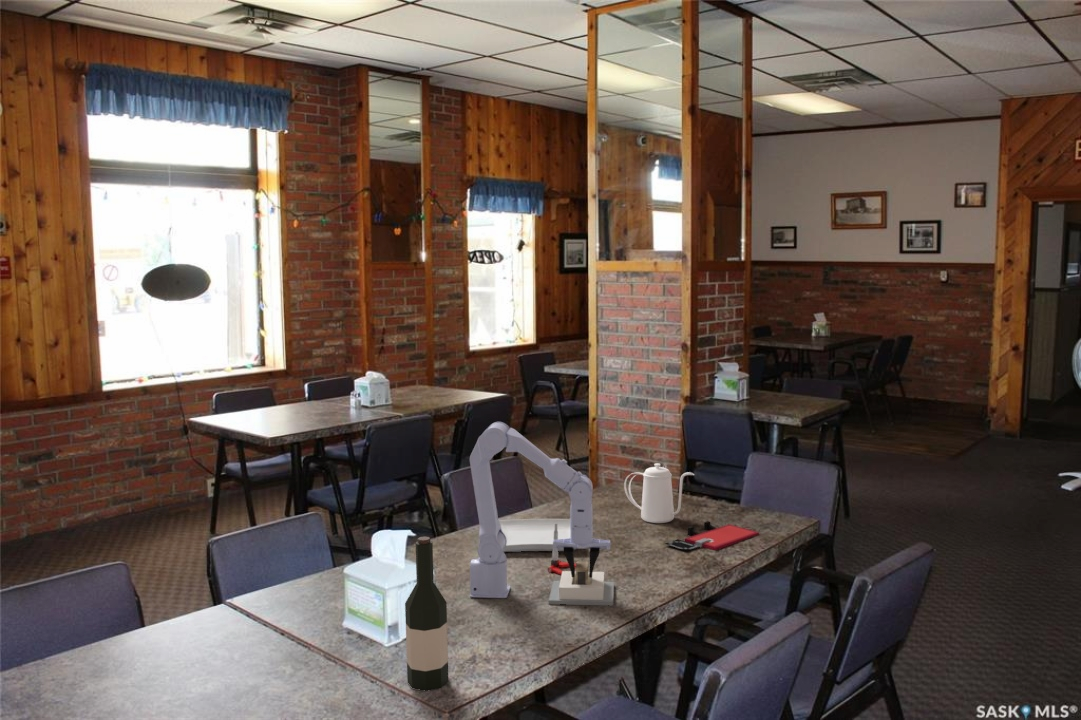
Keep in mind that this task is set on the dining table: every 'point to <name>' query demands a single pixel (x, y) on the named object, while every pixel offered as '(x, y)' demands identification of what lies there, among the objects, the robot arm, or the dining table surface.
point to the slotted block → (582, 590)
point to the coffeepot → (657, 494)
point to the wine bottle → (426, 625)
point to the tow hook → (555, 561)
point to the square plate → (533, 534)
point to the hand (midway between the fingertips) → (582, 576)
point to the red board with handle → (713, 537)
